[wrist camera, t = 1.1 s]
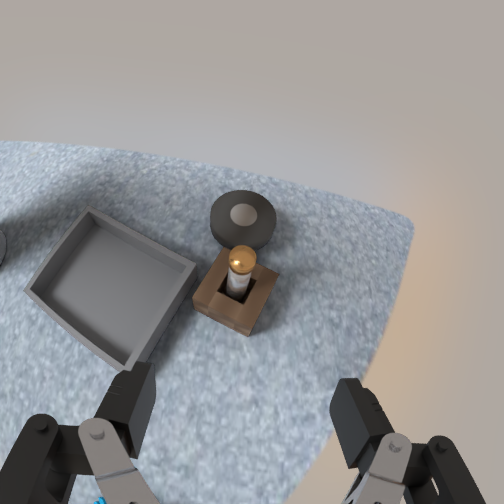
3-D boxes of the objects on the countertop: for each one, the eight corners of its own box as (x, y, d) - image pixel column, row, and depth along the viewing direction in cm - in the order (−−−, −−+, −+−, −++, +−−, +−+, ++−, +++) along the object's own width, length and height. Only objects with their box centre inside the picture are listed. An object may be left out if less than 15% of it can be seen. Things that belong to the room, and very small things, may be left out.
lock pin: (220, 300, 34) (224, 261, 25) (230, 284, 35) (236, 241, 26) (239, 310, 33) (249, 274, 25) (248, 293, 35) (261, 252, 26)
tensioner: (166, 293, 34) (160, 277, 30) (228, 202, 41) (230, 180, 37) (247, 337, 32) (253, 326, 28) (297, 235, 40) (307, 215, 36)
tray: (36, 300, 30) (23, 290, 27) (96, 220, 37) (88, 204, 34) (135, 379, 28) (126, 376, 25) (197, 276, 35) (196, 263, 32)
